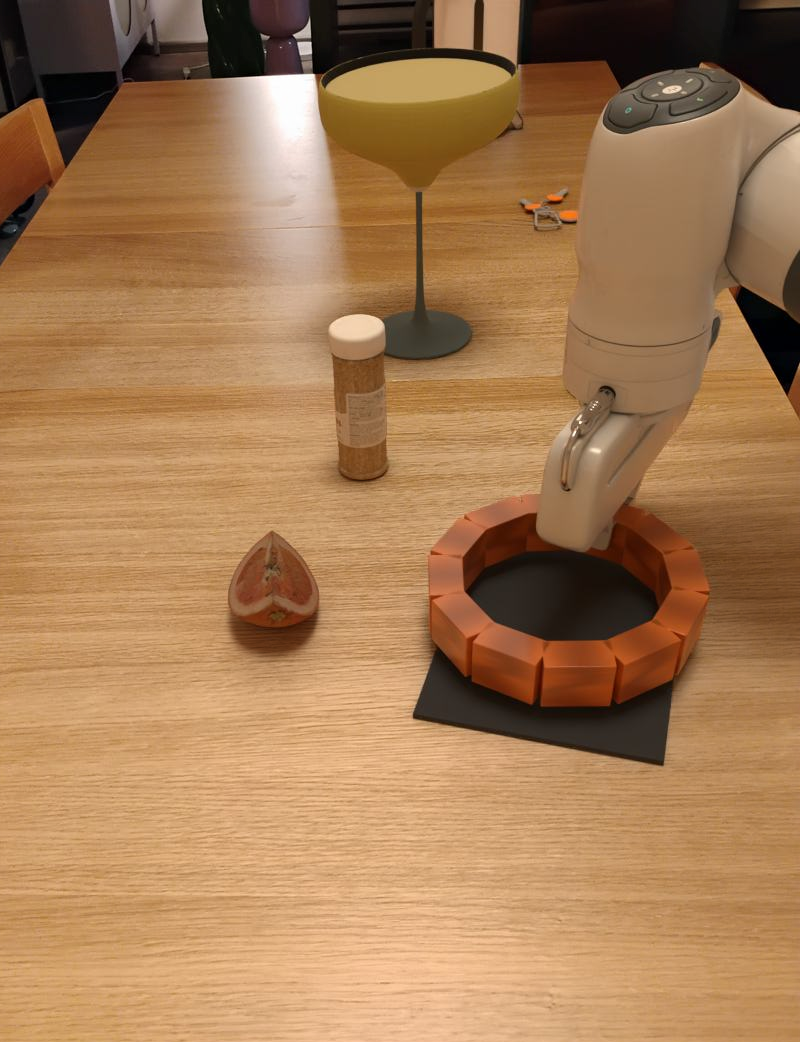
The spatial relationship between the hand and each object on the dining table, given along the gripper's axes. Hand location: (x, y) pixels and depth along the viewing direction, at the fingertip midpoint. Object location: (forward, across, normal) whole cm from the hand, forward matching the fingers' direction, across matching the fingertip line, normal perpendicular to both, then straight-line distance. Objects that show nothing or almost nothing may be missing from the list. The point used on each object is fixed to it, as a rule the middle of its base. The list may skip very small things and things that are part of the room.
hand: (608, 529), depth 76 cm
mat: (+4, -8, 0) cm, 9 cm away
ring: (+2, -8, 0) cm, 8 cm away
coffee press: (+4, +89, +57) cm, 106 cm away
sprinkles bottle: (+4, +3, +24) cm, 24 cm away
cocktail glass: (+4, +28, +31) cm, 42 cm away
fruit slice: (+4, -17, +19) cm, 25 cm away
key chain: (+4, +64, +33) cm, 73 cm away
